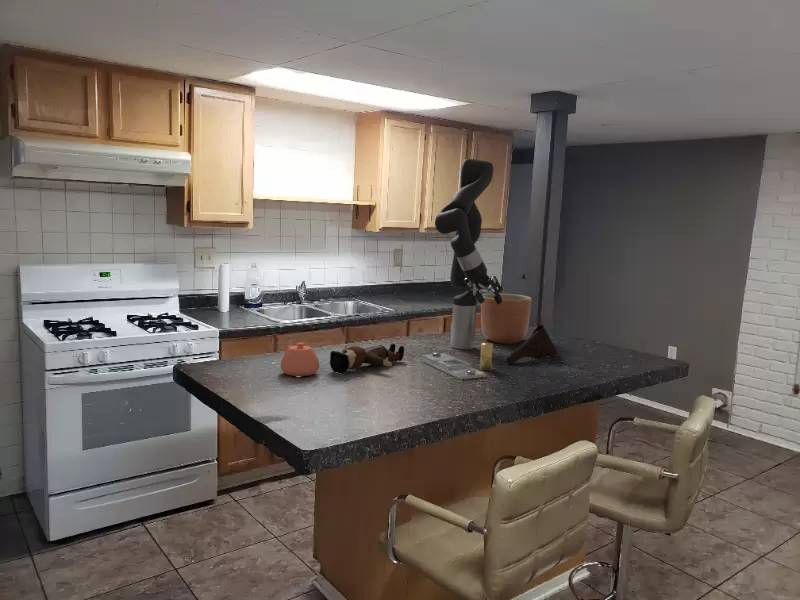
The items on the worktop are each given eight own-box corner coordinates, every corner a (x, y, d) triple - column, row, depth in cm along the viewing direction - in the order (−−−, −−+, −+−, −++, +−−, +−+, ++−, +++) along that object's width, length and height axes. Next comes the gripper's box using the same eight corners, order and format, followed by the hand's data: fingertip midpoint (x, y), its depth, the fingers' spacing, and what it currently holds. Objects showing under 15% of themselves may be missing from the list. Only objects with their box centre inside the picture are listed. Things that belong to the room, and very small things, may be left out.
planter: (468, 339, 269) (471, 295, 266) (499, 334, 283) (502, 292, 280) (508, 348, 254) (510, 301, 251) (538, 342, 268) (541, 298, 265)
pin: (477, 368, 219) (478, 342, 218) (487, 367, 221) (488, 342, 220) (484, 371, 216) (485, 345, 215) (493, 370, 218) (495, 344, 217)
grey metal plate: (421, 361, 226) (422, 352, 226) (444, 359, 231) (444, 350, 230) (461, 379, 203) (461, 370, 203) (485, 377, 208) (486, 367, 207)
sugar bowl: (296, 381, 195) (297, 348, 193) (269, 372, 204) (269, 341, 203) (327, 374, 204) (327, 343, 202) (299, 366, 213) (300, 336, 212)
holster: (524, 393, 232) (561, 352, 244) (512, 359, 224) (550, 318, 237) (513, 390, 235) (550, 349, 248) (501, 356, 228) (539, 316, 240)
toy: (424, 351, 218) (363, 352, 196) (420, 378, 219) (359, 383, 196) (375, 338, 234) (313, 338, 212) (371, 364, 235) (309, 366, 212)
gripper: (493, 256, 208) (512, 297, 214) (464, 257, 220) (483, 296, 226) (479, 269, 205) (499, 310, 211) (450, 269, 216) (470, 308, 222)
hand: (491, 302), depth 218 cm, fingers open, 8 cm apart
